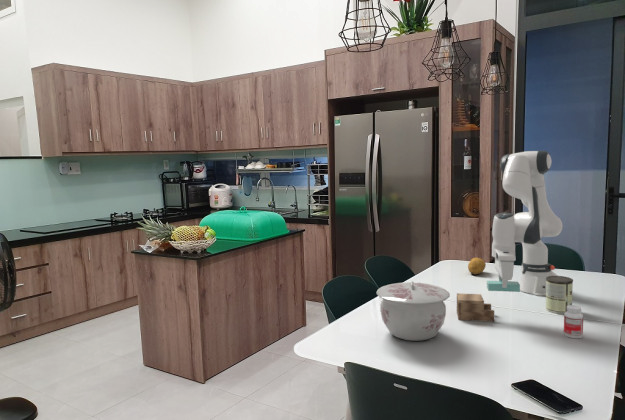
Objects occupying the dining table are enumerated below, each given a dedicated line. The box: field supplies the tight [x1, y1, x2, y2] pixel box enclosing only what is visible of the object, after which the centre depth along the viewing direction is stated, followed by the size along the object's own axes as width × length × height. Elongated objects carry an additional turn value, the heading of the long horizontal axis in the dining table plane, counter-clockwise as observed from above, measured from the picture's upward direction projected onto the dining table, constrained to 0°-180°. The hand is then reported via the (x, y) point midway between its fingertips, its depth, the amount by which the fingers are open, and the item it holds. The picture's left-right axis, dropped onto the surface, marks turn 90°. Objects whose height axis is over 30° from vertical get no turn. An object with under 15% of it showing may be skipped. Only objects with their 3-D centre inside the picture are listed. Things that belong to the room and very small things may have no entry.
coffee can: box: [545, 275, 574, 315], centre depth 196 cm, size 10×10×14 cm
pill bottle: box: [563, 304, 584, 339], centre depth 168 cm, size 6×6×11 cm
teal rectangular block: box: [486, 280, 521, 293], centre depth 188 cm, size 12×5×3 cm, turn 76°
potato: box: [467, 257, 486, 275], centre depth 263 cm, size 10×13×9 cm
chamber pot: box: [376, 281, 451, 342], centre depth 173 cm, size 28×28×21 cm
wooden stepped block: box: [456, 292, 495, 322], centre depth 191 cm, size 14×10×8 cm
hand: (502, 285), depth 188 cm, fingers closed on teal rectangular block, 5 cm apart
